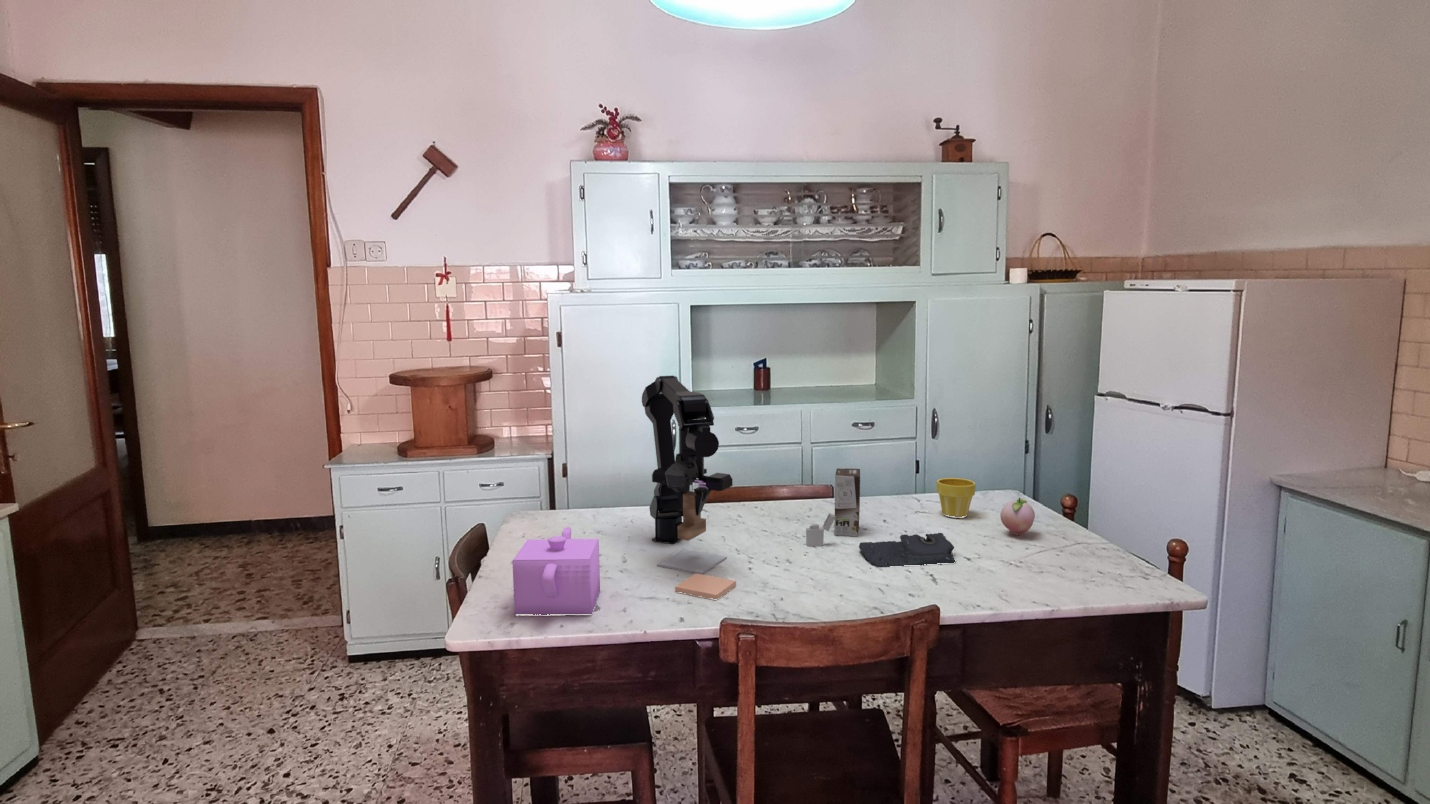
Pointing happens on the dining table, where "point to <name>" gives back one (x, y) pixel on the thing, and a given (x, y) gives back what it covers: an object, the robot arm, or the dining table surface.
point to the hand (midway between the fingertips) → (692, 514)
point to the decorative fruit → (1017, 516)
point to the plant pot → (955, 495)
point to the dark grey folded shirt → (909, 551)
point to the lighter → (818, 532)
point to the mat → (692, 561)
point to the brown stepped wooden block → (690, 519)
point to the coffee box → (847, 502)
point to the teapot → (557, 576)
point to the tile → (705, 586)
